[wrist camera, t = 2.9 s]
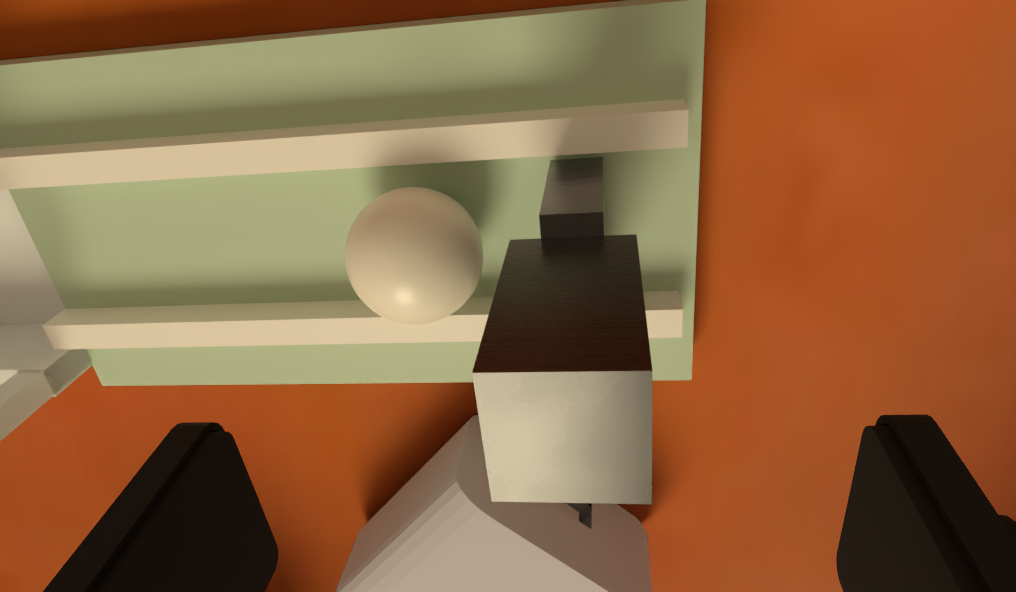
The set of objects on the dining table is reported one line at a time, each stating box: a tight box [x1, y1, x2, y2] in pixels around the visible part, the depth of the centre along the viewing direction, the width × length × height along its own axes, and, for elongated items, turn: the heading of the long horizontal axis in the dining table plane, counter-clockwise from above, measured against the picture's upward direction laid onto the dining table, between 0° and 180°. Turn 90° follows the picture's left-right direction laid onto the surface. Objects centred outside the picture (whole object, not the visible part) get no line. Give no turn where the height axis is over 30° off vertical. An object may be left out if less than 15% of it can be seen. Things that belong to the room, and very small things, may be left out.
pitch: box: [0, 0, 706, 386], centre depth 22 cm, size 22×12×3 cm, turn 96°
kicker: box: [472, 157, 652, 504], centre depth 16 cm, size 3×4×10 cm
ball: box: [345, 187, 484, 325], centre depth 19 cm, size 4×4×4 cm
